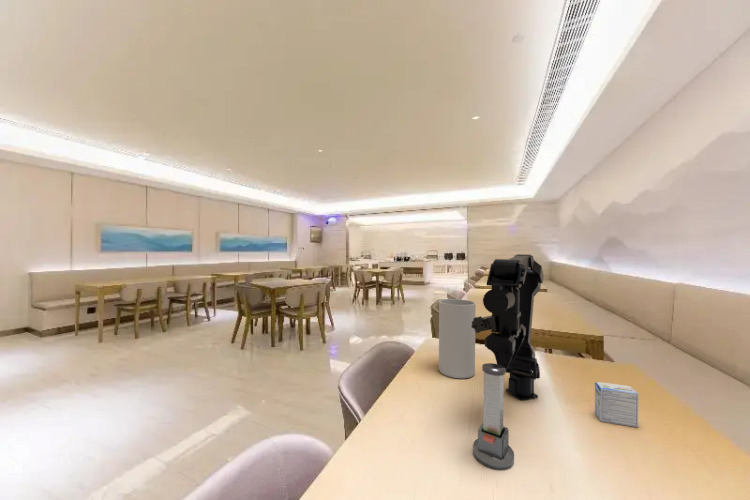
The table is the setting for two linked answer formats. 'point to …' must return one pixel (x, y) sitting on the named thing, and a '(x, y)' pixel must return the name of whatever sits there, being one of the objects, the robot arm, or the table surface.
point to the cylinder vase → (456, 338)
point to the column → (493, 397)
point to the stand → (493, 449)
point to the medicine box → (616, 404)
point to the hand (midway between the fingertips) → (506, 368)
